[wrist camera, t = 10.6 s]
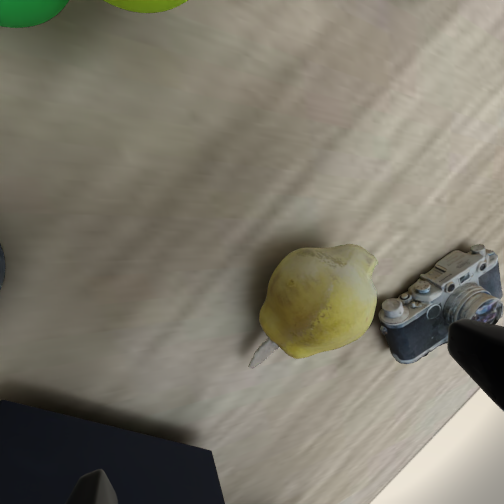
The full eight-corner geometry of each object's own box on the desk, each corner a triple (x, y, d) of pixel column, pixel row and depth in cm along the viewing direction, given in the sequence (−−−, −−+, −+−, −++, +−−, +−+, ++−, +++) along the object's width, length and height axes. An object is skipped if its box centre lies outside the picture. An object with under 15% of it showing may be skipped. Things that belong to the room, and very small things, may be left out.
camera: (364, 306, 24) (407, 339, 20) (476, 233, 25) (536, 251, 22) (382, 354, 26) (423, 391, 23) (484, 284, 28) (539, 309, 24)
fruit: (205, 341, 21) (295, 204, 18) (271, 346, 25) (353, 234, 22) (249, 425, 17) (373, 265, 14) (319, 415, 21) (426, 288, 18)
